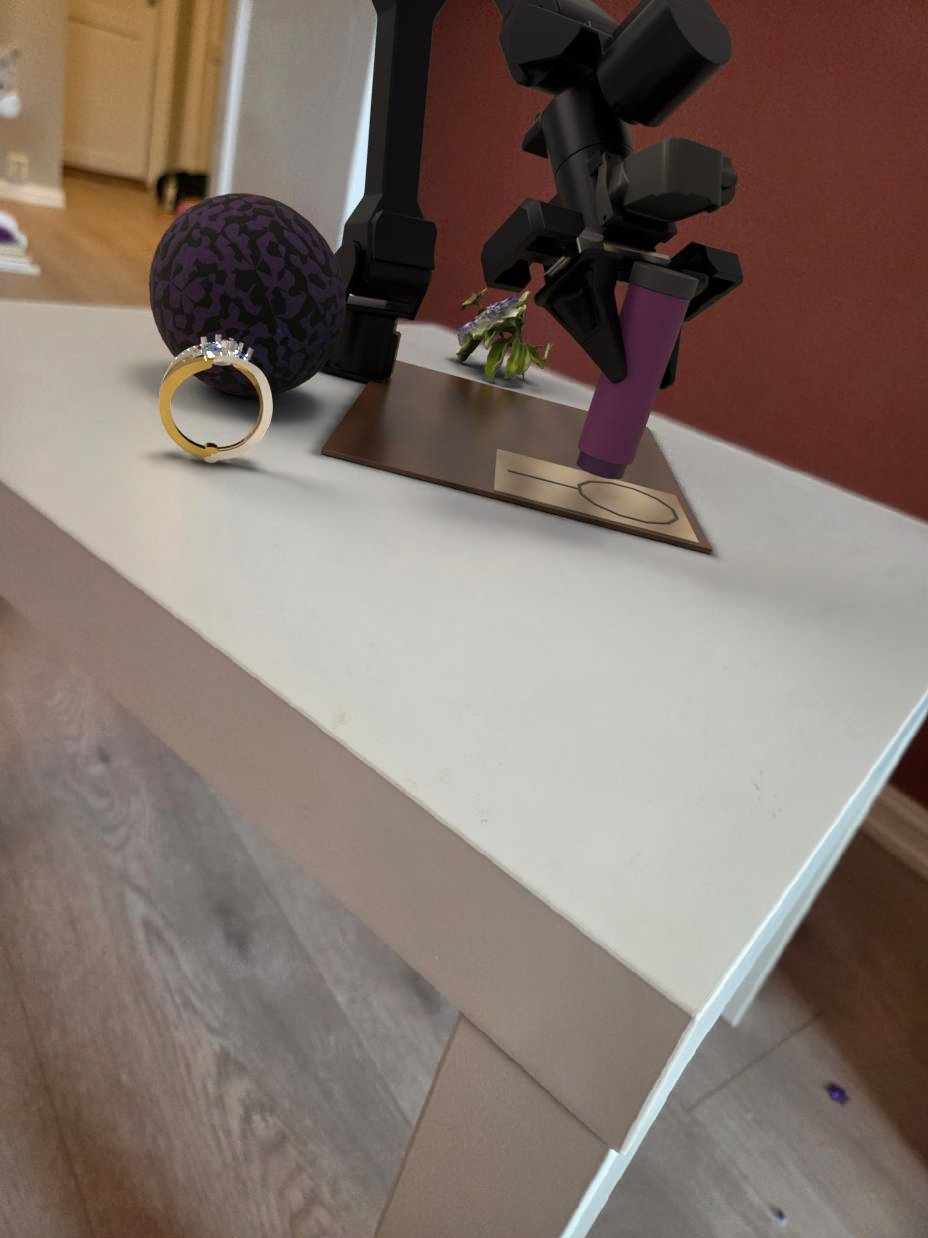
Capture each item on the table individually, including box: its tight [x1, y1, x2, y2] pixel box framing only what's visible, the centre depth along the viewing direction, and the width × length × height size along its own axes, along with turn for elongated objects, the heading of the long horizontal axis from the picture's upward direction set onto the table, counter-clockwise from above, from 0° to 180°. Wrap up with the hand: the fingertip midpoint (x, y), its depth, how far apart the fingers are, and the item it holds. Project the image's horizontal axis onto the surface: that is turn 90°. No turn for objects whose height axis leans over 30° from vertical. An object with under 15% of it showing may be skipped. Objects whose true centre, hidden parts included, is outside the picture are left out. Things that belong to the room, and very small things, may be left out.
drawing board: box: [320, 359, 713, 555], centre depth 81 cm, size 30×36×1 cm
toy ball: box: [148, 192, 346, 398], centre depth 69 cm, size 15×15×15 cm
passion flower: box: [454, 287, 554, 383], centre depth 104 cm, size 11×11×12 cm
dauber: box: [576, 261, 699, 480], centre depth 58 cm, size 4×4×13 cm
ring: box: [158, 333, 273, 464], centre depth 56 cm, size 7×3×8 cm, turn 107°
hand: (643, 383), depth 57 cm, fingers closed on dauber, 4 cm apart
